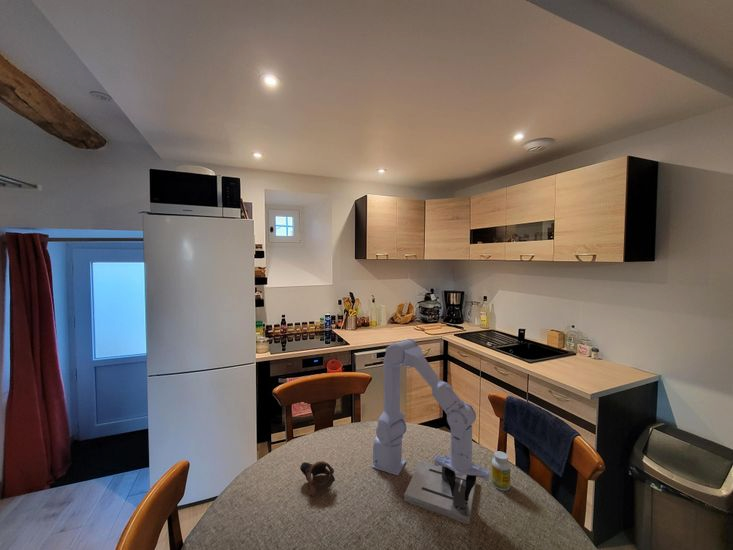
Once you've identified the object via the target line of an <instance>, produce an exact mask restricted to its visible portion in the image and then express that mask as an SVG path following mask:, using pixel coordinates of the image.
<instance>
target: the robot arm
mask: <svg viewBox="0 0 733 550" xmlns="http://www.w3.org/2000/svg"><path fill="white" fill-rule="evenodd" d="M382 363H383V365H382V366H383V374H382V375H383V412H382V414H381V415H380V416H379V418H378V420H377V426H376V428H375V429H376V430H375V433H376V436H375V439H374V442H373V446H372V465H371V467H372V468H373V469H376V470H378V471H383V472H385V473H388V474H391V475H394V476H399V475H400V473H401V471H402V469H403V468H404V466H405V464H406V463H407V461H406V460H405V459H402V458H403V455H402V453H403V450H402V449H403V438H404V435H405V434H406V432H407V428H408V427H407V423H406V421H405V414H404V413H402V411H401V403H400V402H401V398H400V397H401V394H400V393H401V387H400V386H401V384H400V383H401V381H400V375H401V374H400V373H401V372H400V367H401V366H403V367H404V366H405V367H409V368H414V370H416V372H418V374H419V375H420V376H421V377H422V379H424V381H425V382H426V383H427V384H428V386H429V387H430V388H431V396H432V397H433V399H435V400H436V402H437V403H438V404H439V406H440V407H441V409H442V410H443V411H444V413H445V414H446V415H447V417H446V422H447V424H448V426H449V428H450V452H449V453H450V456H448V457H445V456H443V455H442V456H441V455H435V456H434V460H433V462H434V463H433V464H434V465H435V466H438V465H439V466H443V467H445V477H446V478H447V480H448V483H449V485H450V489H451V493H452V496H453V490H454V486H455V476H456V475H458V476H463V475H467V476H466V496H465V501H468V499H469V494H470V491H471V489H472V488H473V486H474V485H475V482H476V483H477V478H481V479H483V480H484V481H486V482H489V479H490V475H489V474H490V469H486V468H483V467H482V466H480V465H477V464H475V463H473V462H472V461H473V424H474V423H475V421H476V420H477V414H476V411H475V409H474V407H473V406H472V405H471V404H470V403H467V402H465V401H464V400H462V399H461V398H460V397H459V395H458V394H457V393H456V391H454V389H453V386H452V385H451V384H449V383H448V382H446V381H443V380H441V379H440V378H439V376H438V375H437V373H436V372H435V370H434V369H433V367H432V366H431V365H430V363H429V362H428V360H427V359H426V357H425V356H424V354H423V350H422V347H421V346H419V345H418V343H417V341H415V340H414V339H412V338H408V339H406V340H402V341H399V342H394V343H391V344H388V346H386V347H385V355H384V357H383V361H382Z"/></svg>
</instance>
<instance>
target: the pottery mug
mask: <svg viewBox="0 0 733 550" xmlns="http://www.w3.org/2000/svg"><path fill="white" fill-rule="evenodd" d="M299 470H300V471H301V473H302V474H303V476H305V479H306V481H307V484H308V486H309V491H308V494H309V495H311V496H312V497H314V496H316V495H317V496H318V495H320V494H323V493H325V492H327V491H329V489H330V488H331V487H332V485H333V483H334V482H335V481H336V477H335V475H334V473H335V469H334V468H333V466H331V464H329V463H328V462H326V461H323V460H322V461H317V462H315V463H313V464H311V463H309V462H304V461H303V462H302V463H301V465H300V467H299ZM318 475H325V476H327V477H328V480H327V481H325V482H323V483H321V484H319V483H315V485H314V484H313V478H315V477H317V476H318Z"/></svg>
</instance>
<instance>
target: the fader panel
mask: <svg viewBox="0 0 733 550" xmlns="http://www.w3.org/2000/svg"><path fill="white" fill-rule="evenodd" d="M466 476H467V475H463V476H458V475H456V476H455V482H456V478H457V479H460V480H464V481H466ZM476 485H477V481H476V482H475V485H474V486H473V488H472V489H471V491H470V494H469V499H468V501H466V504H465V509H464V508H461V507H458V506H456V505H453V496H452V493H451V489H450V485H449V483H448V480H446V479H443V478H442V466H440V465H438V466H435V465H434V463H432V462H429V461H426V460H423V459H420V460H419V462H418V463H417V466H416V469H415V470H414V473H413V475H412V477H411V479H410V481H409V483H408V486H407V487H406V490H405V492H404V495H403V496H404V501H405V502H407V503H410V504H412V505H414V506H418V507H421V508H423V509H426V510H429V511H431V512H434V513H436V514H439V515H442V516H444V517H448V518H450V519H453V520H456V521H458V522H461V523H463V524H466V525H470V523H471V518H472V510H473V505H474V497H475V491H476ZM472 504H473V505H472Z"/></svg>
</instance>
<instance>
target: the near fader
mask: <svg viewBox="0 0 733 550" xmlns="http://www.w3.org/2000/svg"><path fill="white" fill-rule="evenodd" d="M465 496H466V481H464V480H460V479H457V478H456V482H455V486H454V490H453V505H456V506H458V507H461V508H464V509H465V504H466V501H465Z"/></svg>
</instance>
